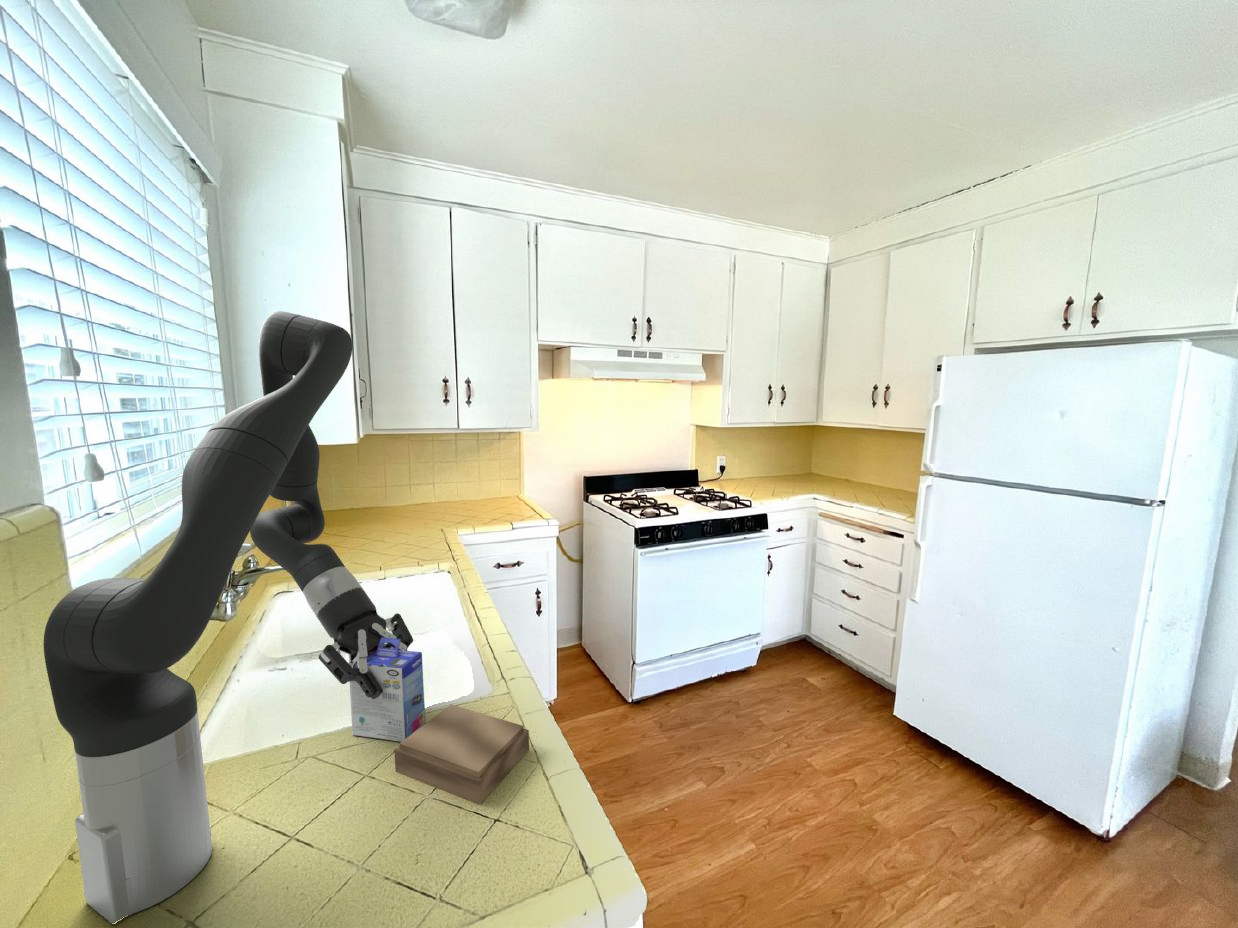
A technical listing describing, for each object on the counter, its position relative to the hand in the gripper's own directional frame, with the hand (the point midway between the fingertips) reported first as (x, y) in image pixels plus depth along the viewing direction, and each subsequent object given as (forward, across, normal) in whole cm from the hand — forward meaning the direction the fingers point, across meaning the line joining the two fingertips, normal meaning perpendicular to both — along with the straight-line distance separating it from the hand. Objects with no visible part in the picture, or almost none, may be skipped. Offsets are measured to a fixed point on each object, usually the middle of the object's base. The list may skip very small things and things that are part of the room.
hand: (396, 684), depth 75 cm
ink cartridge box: (+4, 0, +7) cm, 8 cm away
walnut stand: (+16, -1, -5) cm, 16 cm away
